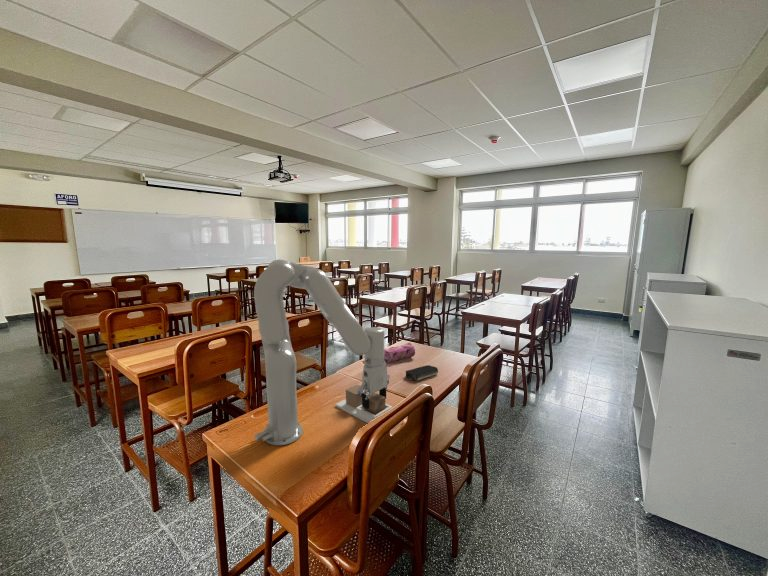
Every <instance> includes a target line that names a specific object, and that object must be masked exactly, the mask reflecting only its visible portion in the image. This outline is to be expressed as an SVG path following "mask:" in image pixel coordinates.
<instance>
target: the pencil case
mask: <svg viewBox="0 0 768 576" xmlns="http://www.w3.org/2000/svg"><path fill="white" fill-rule="evenodd" d="M415 355H416V348H415V346H414V345H413V343H411V342H407V343H405V344H402V345H398V346H394V347H392V348H384V361H385V363H386V365H387V364H389V363H393V362H395V361H398V360H402V359H407V358H412V357H414V356H415Z"/></svg>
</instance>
